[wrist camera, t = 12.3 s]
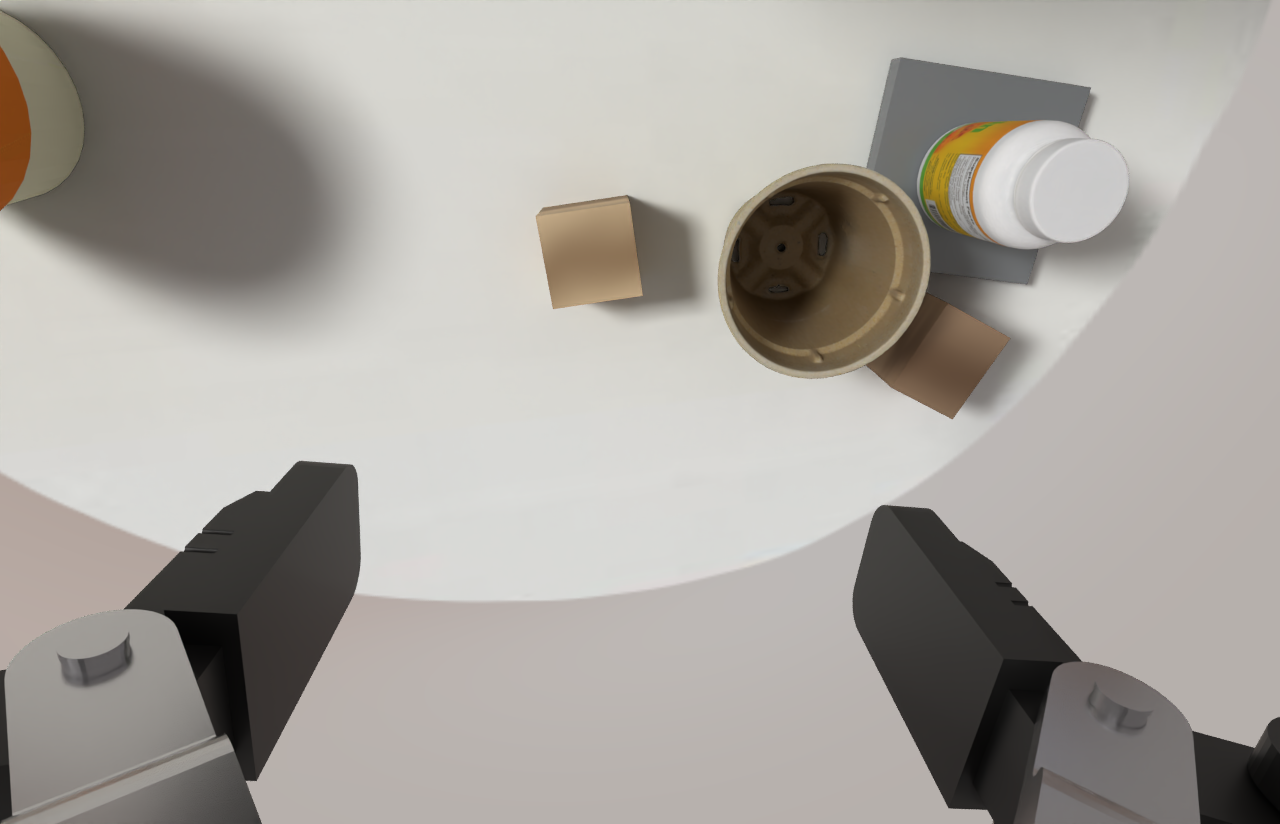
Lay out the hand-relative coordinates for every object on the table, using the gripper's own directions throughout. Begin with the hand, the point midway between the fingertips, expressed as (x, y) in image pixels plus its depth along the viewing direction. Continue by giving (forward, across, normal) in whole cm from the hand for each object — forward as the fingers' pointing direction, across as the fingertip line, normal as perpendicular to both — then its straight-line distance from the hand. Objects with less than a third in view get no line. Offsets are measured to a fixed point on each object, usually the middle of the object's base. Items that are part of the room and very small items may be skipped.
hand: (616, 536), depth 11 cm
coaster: (+30, -18, -5) cm, 36 cm away
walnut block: (+30, -18, +4) cm, 35 cm away
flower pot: (+30, -10, -1) cm, 32 cm away
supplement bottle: (+29, -18, -5) cm, 35 cm away
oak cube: (+30, +1, 0) cm, 30 cm away
